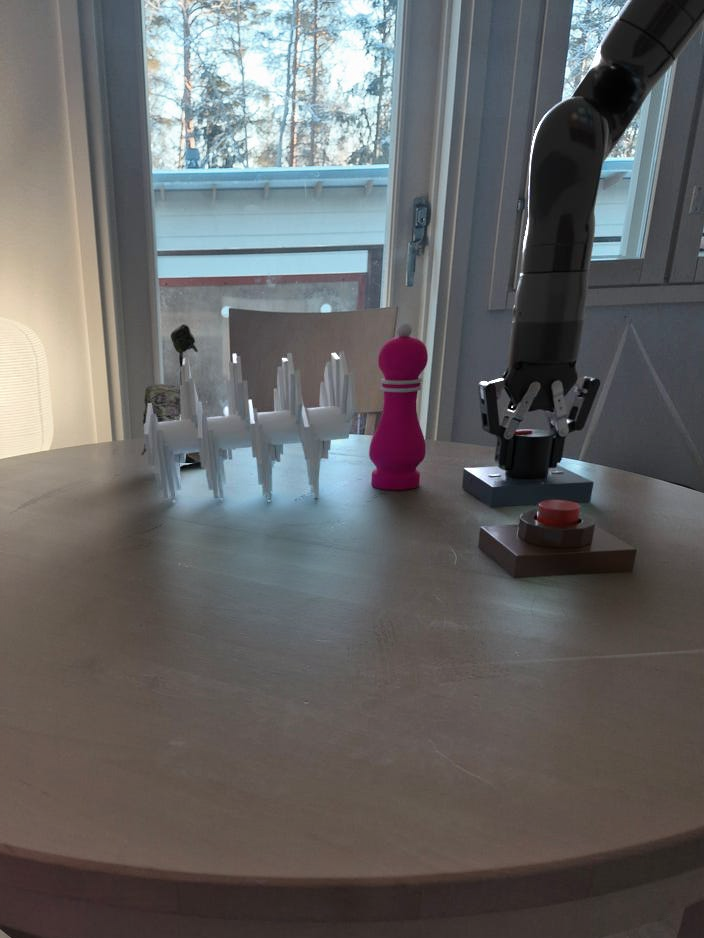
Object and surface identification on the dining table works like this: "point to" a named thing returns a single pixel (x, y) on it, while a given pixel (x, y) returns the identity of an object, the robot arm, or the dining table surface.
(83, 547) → the dining table surface
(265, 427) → the spiral staircase
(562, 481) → the panel
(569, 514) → the button
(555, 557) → the switch block
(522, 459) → the dial
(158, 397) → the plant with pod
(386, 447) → the pepper mill
